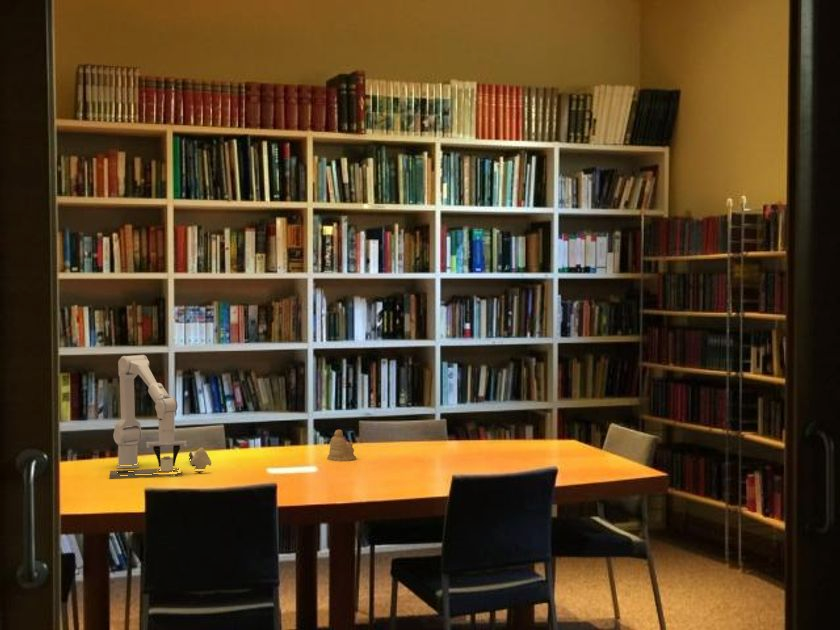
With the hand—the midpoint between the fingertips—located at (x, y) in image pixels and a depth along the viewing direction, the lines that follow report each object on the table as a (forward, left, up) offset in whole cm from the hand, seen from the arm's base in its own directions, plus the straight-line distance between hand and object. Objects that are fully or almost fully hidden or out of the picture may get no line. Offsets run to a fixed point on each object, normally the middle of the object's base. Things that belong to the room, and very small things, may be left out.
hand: (166, 466), depth 401 cm
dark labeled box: (-20, +10, -4) cm, 23 cm away
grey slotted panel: (0, -8, -3) cm, 8 cm away
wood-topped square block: (0, 0, -3) cm, 3 cm away
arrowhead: (0, +12, -3) cm, 13 cm away
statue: (-19, +69, -3) cm, 72 cm away
